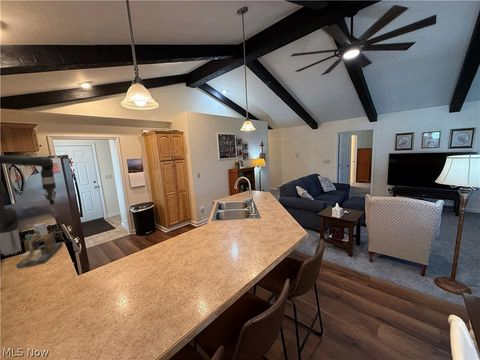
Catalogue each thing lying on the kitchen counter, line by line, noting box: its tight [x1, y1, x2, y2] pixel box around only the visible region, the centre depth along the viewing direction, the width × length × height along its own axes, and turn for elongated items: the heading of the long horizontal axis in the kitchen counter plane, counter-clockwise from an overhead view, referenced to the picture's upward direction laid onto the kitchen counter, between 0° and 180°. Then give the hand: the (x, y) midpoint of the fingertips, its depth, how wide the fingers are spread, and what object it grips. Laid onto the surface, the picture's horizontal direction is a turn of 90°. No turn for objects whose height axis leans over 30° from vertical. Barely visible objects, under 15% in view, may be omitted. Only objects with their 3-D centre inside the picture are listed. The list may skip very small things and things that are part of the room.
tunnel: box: [16, 232, 64, 269], centre depth 144 cm, size 14×28×14 cm, turn 22°
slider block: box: [21, 233, 42, 263], centre depth 133 cm, size 7×6×17 cm
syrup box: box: [32, 222, 49, 243], centre depth 170 cm, size 6×6×14 cm
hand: (52, 204), depth 159 cm, fingers closed
